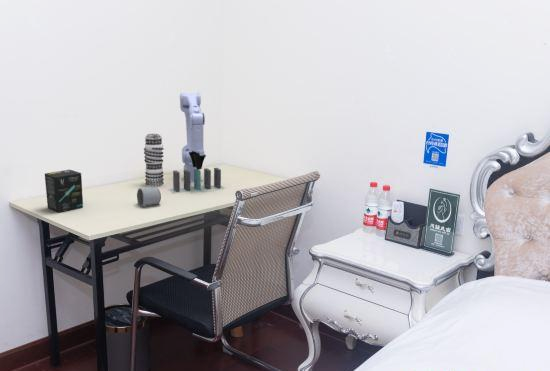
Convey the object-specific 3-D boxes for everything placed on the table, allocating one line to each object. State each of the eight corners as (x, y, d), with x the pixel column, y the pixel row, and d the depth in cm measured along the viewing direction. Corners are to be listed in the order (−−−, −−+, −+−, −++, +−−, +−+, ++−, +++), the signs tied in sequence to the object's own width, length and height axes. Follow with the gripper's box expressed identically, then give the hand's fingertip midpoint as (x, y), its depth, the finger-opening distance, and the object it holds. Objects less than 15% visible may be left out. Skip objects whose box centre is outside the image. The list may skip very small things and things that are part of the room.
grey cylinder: (162, 205, 219) (161, 187, 217) (143, 208, 214) (143, 190, 212) (151, 200, 227) (151, 183, 225) (133, 202, 222) (133, 185, 221)
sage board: (167, 189, 244) (167, 189, 244) (220, 185, 256) (220, 184, 256) (172, 194, 237) (172, 193, 237) (226, 189, 249) (226, 188, 249)
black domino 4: (217, 188, 248) (217, 170, 246) (214, 186, 253) (214, 167, 250) (220, 188, 249) (220, 169, 247) (217, 185, 253) (217, 167, 251)
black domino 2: (186, 191, 242) (186, 172, 240) (183, 188, 246) (183, 169, 244) (190, 190, 242) (190, 171, 240) (187, 188, 247) (186, 169, 245)
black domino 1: (176, 192, 240) (176, 172, 237) (173, 189, 244) (173, 170, 242) (179, 191, 240) (179, 172, 238) (176, 189, 245) (176, 170, 242)
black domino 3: (207, 189, 246) (207, 170, 244) (204, 186, 250) (204, 168, 248) (210, 189, 247) (210, 170, 245) (207, 186, 251) (207, 168, 249)
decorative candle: (166, 184, 255) (166, 133, 249) (161, 189, 246) (159, 136, 240) (148, 183, 255) (147, 132, 249) (142, 187, 246) (140, 135, 240)
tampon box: (71, 203, 218) (69, 168, 215) (84, 207, 213) (82, 172, 209) (46, 208, 210) (43, 172, 207) (58, 213, 204) (55, 176, 201)
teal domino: (197, 190, 244) (197, 171, 242) (194, 187, 248) (193, 169, 246) (200, 189, 245) (200, 171, 242) (197, 187, 249) (197, 169, 247)
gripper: (184, 137, 245) (184, 165, 249) (193, 142, 233) (193, 171, 236) (198, 136, 248) (198, 164, 252) (208, 141, 236) (208, 170, 239)
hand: (197, 168), depth 244 cm, fingers open, 5 cm apart
